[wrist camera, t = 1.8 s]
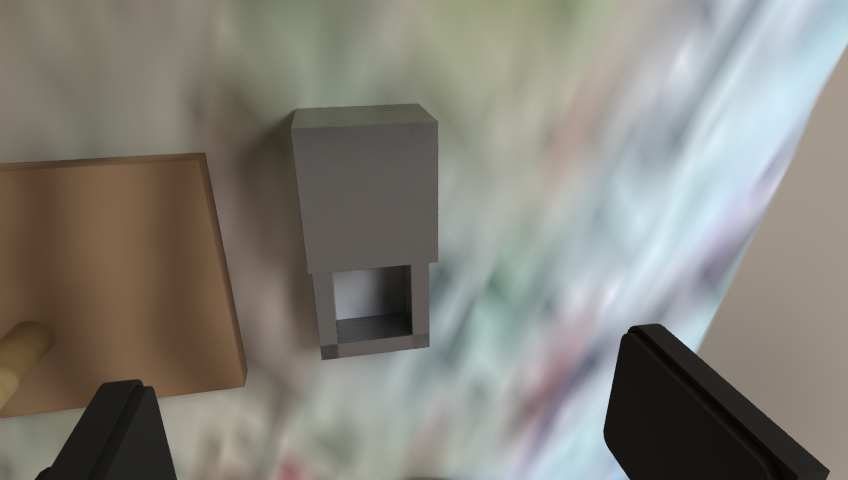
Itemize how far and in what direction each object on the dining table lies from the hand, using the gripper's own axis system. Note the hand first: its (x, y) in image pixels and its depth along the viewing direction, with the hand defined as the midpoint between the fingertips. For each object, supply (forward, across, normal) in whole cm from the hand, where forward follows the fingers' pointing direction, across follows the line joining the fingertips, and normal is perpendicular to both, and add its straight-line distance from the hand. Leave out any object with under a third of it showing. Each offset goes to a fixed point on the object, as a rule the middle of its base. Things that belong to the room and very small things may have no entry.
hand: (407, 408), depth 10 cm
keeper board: (+20, +15, +6) cm, 25 cm away
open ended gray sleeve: (+19, -1, +4) cm, 20 cm away
